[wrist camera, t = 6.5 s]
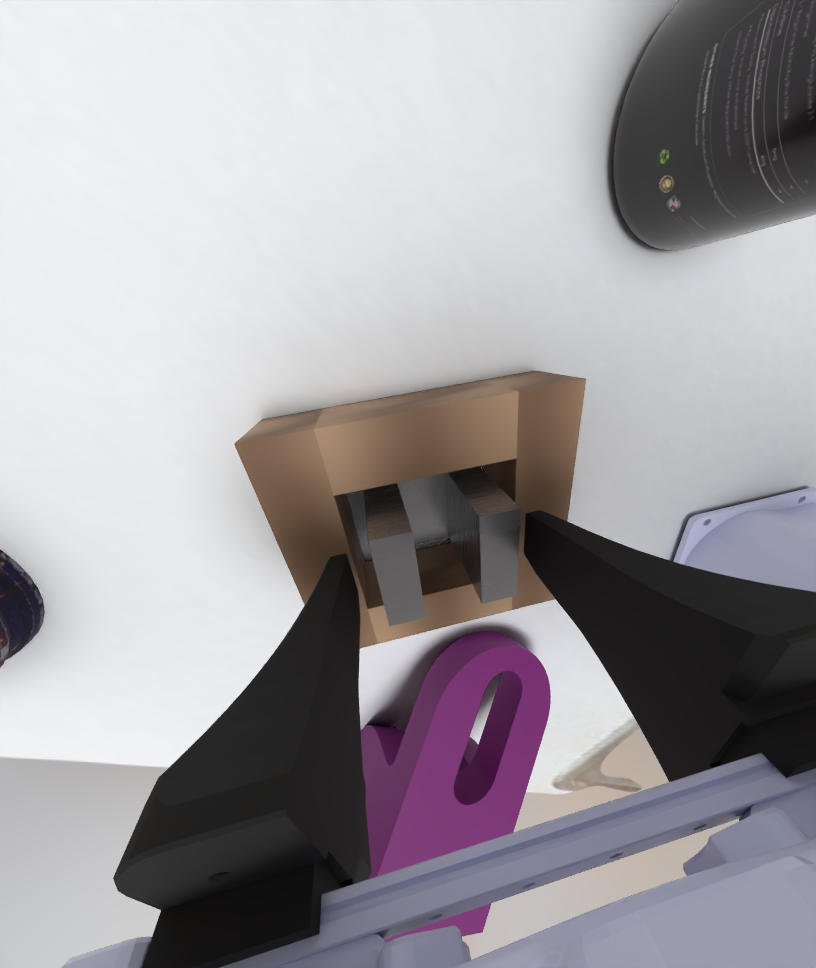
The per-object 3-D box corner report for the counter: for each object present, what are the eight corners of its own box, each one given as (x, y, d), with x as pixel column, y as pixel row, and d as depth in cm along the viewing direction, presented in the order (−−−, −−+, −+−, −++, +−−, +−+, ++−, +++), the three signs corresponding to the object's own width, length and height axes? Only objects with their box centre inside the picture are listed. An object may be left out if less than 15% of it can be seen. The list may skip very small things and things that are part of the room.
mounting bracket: (411, 583, 26) (330, 797, 24) (462, 632, 18) (347, 958, 16) (493, 608, 29) (427, 798, 27) (567, 659, 21) (482, 932, 19)
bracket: (463, 451, 14) (520, 508, 9) (467, 518, 16) (516, 595, 11) (362, 470, 14) (367, 541, 9) (377, 537, 16) (389, 626, 11)
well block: (535, 370, 13) (585, 378, 10) (525, 558, 18) (557, 598, 15) (262, 419, 12) (234, 444, 9) (331, 604, 17) (327, 656, 14)
